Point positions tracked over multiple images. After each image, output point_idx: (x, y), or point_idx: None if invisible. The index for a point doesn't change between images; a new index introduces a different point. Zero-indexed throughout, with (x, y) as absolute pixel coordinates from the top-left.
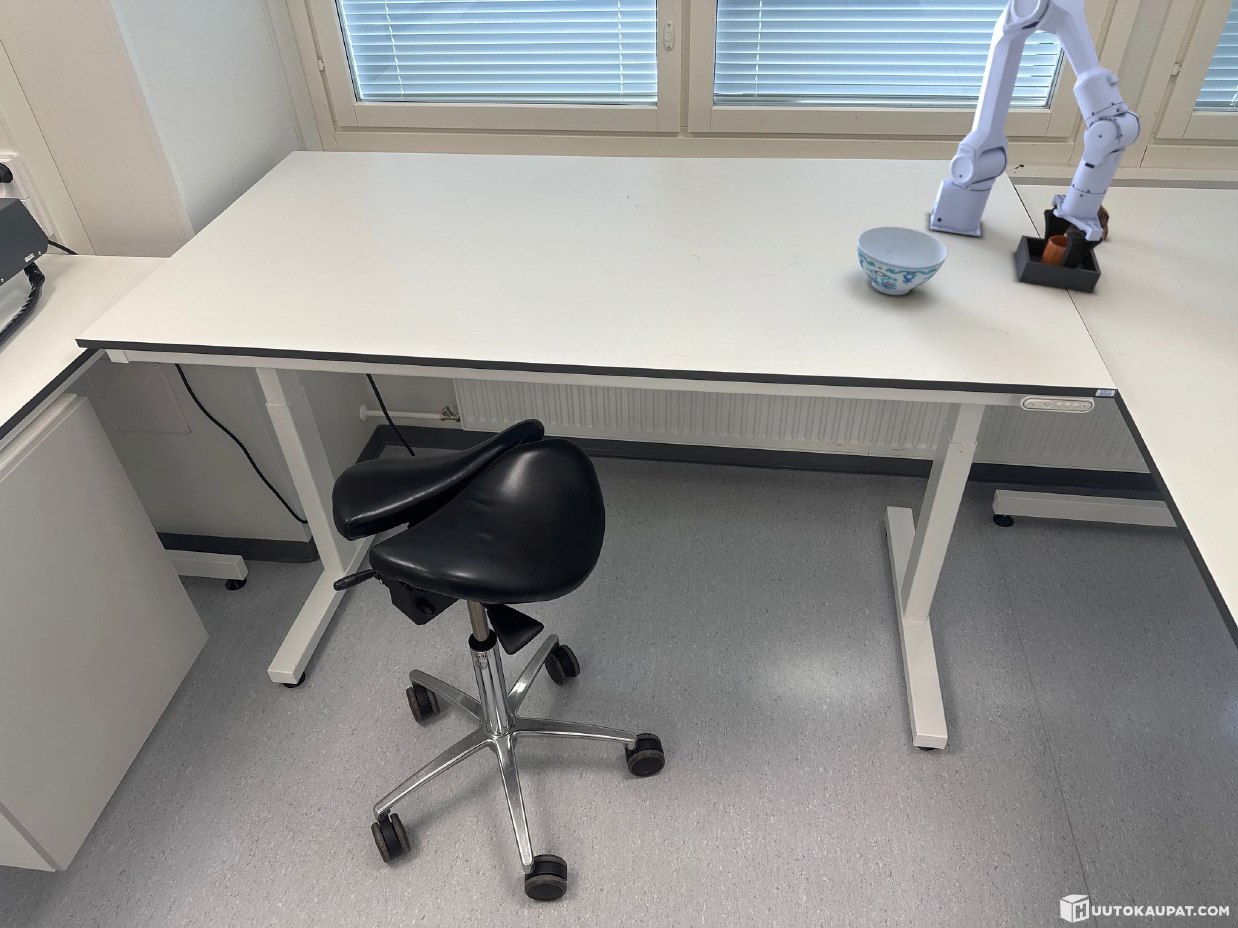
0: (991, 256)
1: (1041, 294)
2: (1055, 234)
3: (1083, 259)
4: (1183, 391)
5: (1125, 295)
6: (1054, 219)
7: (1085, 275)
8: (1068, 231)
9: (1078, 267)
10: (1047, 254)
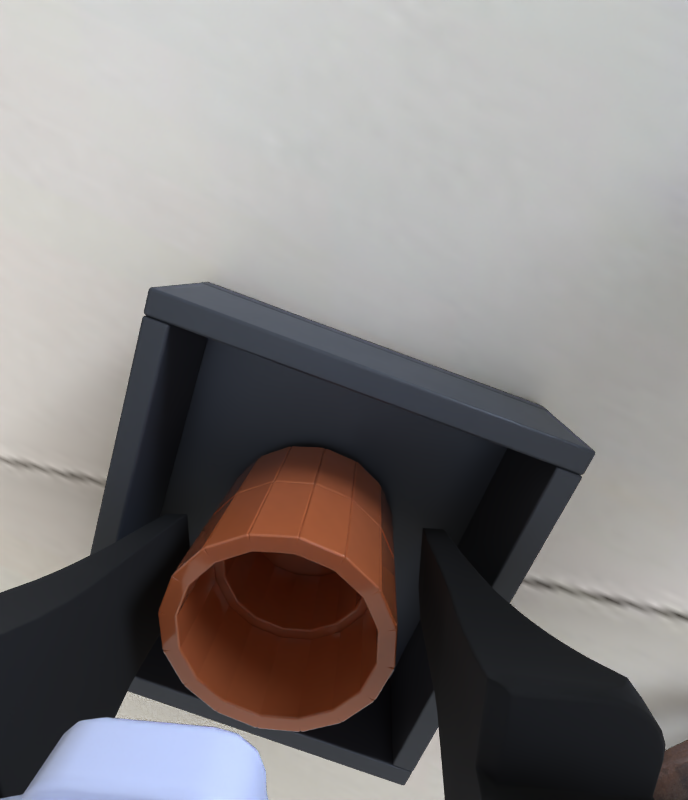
0: (528, 239)
1: (79, 346)
2: (442, 640)
3: (389, 692)
4: None
5: (130, 699)
6: (472, 713)
7: None
8: (675, 768)
9: None
10: (272, 488)
